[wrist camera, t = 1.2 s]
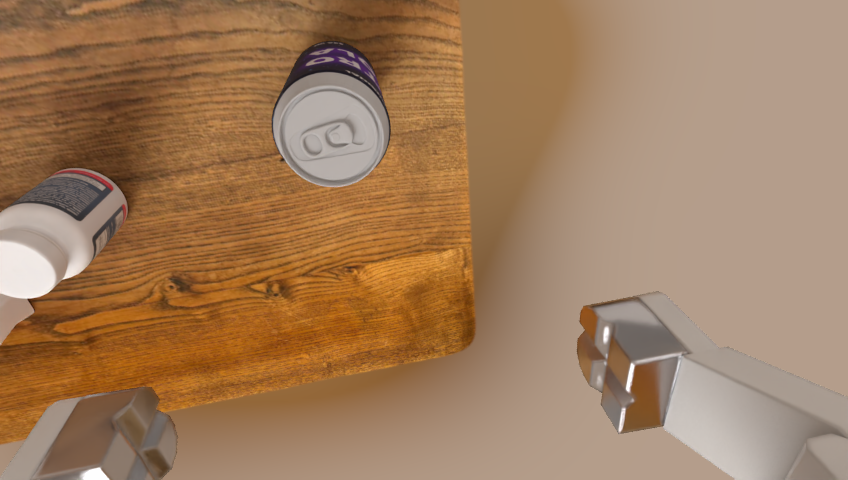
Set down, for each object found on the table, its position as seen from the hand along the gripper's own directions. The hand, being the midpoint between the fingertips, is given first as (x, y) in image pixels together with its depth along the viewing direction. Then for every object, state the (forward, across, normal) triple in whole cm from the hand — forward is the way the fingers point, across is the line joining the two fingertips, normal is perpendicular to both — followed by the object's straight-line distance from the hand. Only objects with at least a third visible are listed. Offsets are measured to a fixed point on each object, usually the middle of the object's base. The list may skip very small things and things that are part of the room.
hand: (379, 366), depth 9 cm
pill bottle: (+27, +20, +6) cm, 34 cm away
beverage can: (+27, +1, 0) cm, 27 cm away
